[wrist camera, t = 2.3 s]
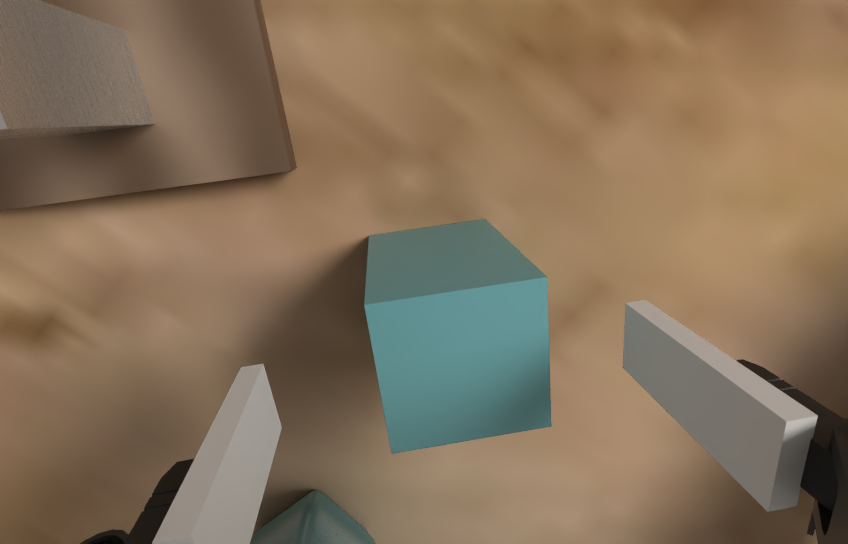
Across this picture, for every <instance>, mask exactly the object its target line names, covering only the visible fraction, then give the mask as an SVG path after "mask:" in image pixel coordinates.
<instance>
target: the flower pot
mask: <svg viewBox="0 0 848 544" xmlns="http://www.w3.org/2000/svg"><path fill="white" fill-rule="evenodd" d="M250 544H376V543H375V542H374V540H373V539H372V537H371V536H370V534H369V533H368V532H367V530H366V529H365V528H364V527H363V526H361V525H360V524H359V523H358V522H357V521H355V520H354V519H353V518H352V517H351V516H349V515H348V514H347V513H346V512H344V511H343V510H342V509H341V508H340V507H339V506H337V505H336V504H335V503H334V502H333V501H332V500H330V499H329V498H328V497H327V496H326V495H324V494H323V493H322V492H320V491H317V490H315V491H312V492H310V493H309V494H307V495H306V496H304V497H303V498H302V499H300V500H299V501H298V502H296V503H295V504H293V505H292V506H291V507H289V508H288V509H287V510H285V511H284V512H282V513H281V514H280V515H278V516H277V517H275V518H274V519H272V520H271V521H270V522H268V523H267V524H265V525H264V526H262V527H261V528H260V529H259V530H258V531H257V532H256V533H255V534H253V535H252V538H251V541H250Z"/></svg>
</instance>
